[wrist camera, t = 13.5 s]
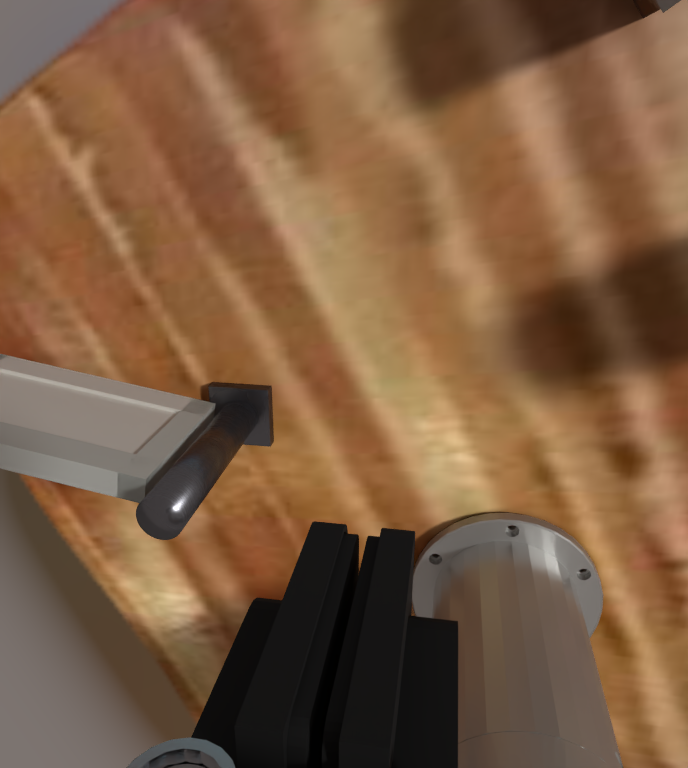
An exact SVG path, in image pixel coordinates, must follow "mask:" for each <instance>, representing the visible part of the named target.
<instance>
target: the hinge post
mask: <svg viewBox="0 0 688 768" xmlns="http://www.w3.org/2000/svg"><path fill="white" fill-rule="evenodd" d="M208 387H209V400H210V402H211V403H215V412H214V419H213V420H212V421H211V422H210V423H209V425H208V426H207V427H206V428H205V429H204V430H203V431H202V433H201V434H200V435H199V436H198V437H197V438H196V439H195V441H194V442H193V443H192V444H191V445H190V446H189V447H188V449H187V450H186V451H185V452H184V453H183V454H182V455H181V457H180V458H179V459H178V460H177V461H176V462H175V463H174V465H173V466H172V467H171V468H170V469H169V470H168V471H167V473H166V474H165V475H164V476H163V477H162V478H161V479H160V481H159V482H158V483H157V484H156V485H155V486H154V487H153V489H152V490H151V491H150V492H149V493H148V494H147V495H146V497H145V498H144V499H143V500H142V501H141V502H140V503H139V505H138V507H137V510H136V518H137V521H138V523H139V525H140V527H141V528H142V529H143V530H144V531H145V532H146V533H147V534H148V535H150V536H152V537H154V538H156V539H161V540H169V539H172V538H175V537H176V536H178V535H179V534H180V532H181V531H182V529H183V528H184V527H185V525H186V524H187V522H188V521H189V520H190V518H191V517H192V515H193V514H194V512H195V511H196V510H197V508H198V507H199V505H200V504H201V503H202V501H203V500H204V498H205V497H206V496H207V494H208V493H209V491H210V490H211V488H212V487H213V486H214V484H215V483H216V481H217V480H218V479H219V477H220V476H221V474H222V473H223V471H224V470H225V469H226V467H227V466H228V464H229V463H230V462H231V460H232V459H233V457H234V456H235V455H236V453H237V452H238V450H239V449H240V447H241V446H242V445H243V444H245V445H258V446H271V445H272V443H273V442H274V436H273V412H272V387H271V386H265V385H250V384H234V383H219V382H212V383H211V384H210V385H209V386H208Z"/></svg>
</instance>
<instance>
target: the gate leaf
mask: <svg viewBox="0 0 688 768" xmlns="http://www.w3.org/2000/svg"><path fill="white" fill-rule="evenodd" d="M214 412H215V403H211V402H207V401H203V400H198V399H194V398H190V397H185V396H181V395H177V394H172V393H168V392H164V391H159V390H155V389H151V388H146V387H142V386H138V385H133V384H129V383H125V382H120V381H116V380H112V379H107V378H103V377H99V376H94V375H90V374H86V373H81V372H77V371H73V370H68V369H64V368H60V367H55V366H51V365H47V364H42V363H38V362H34V361H29V360H25V359H21V358H16V357H12V356H8V355H3V354H0V468H1V469H5V470H9V471H13V472H17V473H21V474H25V475H29V476H33V477H37V478H41V479H45V480H49V481H53V482H57V483H61V484H65V485H69V486H73V487H77V488H81V489H85V490H90V491H94V492H98V493H102V494H106V495H110V496H114V497H118V498H122V499H126V500H130V501H134V502H138V503H140V502H141V501H142V500H143V499H144V498H145V497H146V495H147V494H148V493H149V492H150V491H151V490H152V489H153V487H154V486H155V485H156V484H157V483H158V482H159V481H160V479H161V478H162V477H163V476H164V475H165V474H166V473H167V471H168V470H169V469H170V468H171V467H172V466H173V465H174V463H175V462H176V461H177V460H178V459H179V458H180V457H181V455H182V454H183V453H184V452H185V451H186V450H187V449H188V447H189V446H190V445H191V444H192V443H193V442H194V441H195V439H196V438H197V437H198V436H199V435H200V434H201V433H202V431H203V430H204V429H205V428H206V427H207V426H208V425H209V423H210V422H211V421H212V420H213V419H214Z"/></svg>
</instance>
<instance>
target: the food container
mask: <svg viewBox="0 0 688 768" xmlns="http://www.w3.org/2000/svg"><path fill="white" fill-rule="evenodd" d="M633 1H634V3H635V5H636V7H637V8H638V10H639V12H640V13H641V15H642V17H643V18H645V17H647V16H648V15H650V14H652V13H654V12H656V11H658V10H660V9H661V10H662V12H663V13H664V12H665V11H667V10H668V9H669V8H671V7H672V6H674V5H675V4H676V3H678V2H679V1H681V0H633Z"/></svg>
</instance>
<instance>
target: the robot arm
mask: <svg viewBox="0 0 688 768" xmlns="http://www.w3.org/2000/svg"><path fill="white" fill-rule="evenodd" d="M511 525H514V526H511ZM414 549H415V531H407V530H397V529H387V528H382V529H381V533H380V537H376V536H368V538H367V541H366V546H365V550H364V555H363V559H362V563H361V568H360V572H359V536H358V535H356V534H348V533H347V526H346V525H345V524H335V523H325V522H315V521H314V522H313V523H312V525H311V527H310V530H309V532H308V535H307V537H306V540H305V543H304V545H303V548H302V551H301V553H300V556H299V558H298V561H297V564H296V566H295V569H294V571H293V574H292V577H291V579H290V582H289V584H288V587H287V590H286V592H285V595H284V598H283V600H273V599H265V598H256V599H254V600H253V602H252V604H251V605H250V607H249V609H248V612H247V614H246V616H245V618H244V621H243V623H242V625H241V627H240V630H239V632H238V634H237V636H236V638H235V641H234V643H233V645H232V647H231V650H230V652H229V654H228V656H227V659H226V661H225V663H224V665H223V668H222V670H221V672H220V674H219V676H218V679H217V681H216V683H215V685H214V688H213V690H212V692H211V694H210V697H209V699H208V701H207V703H206V706H205V708H204V710H203V712H202V714H201V717H200V719H199V721H198V723H197V726H196V728H195V730H194V733H193V735H192V737H191V738H182V739H174V740H169V741H166V742H164V743H161V744H159V745H156V746H154V747H151V748H150V749H148V750H147V751H145V752H144V753H143V754H141V755H140V756H138V757H137V758H135V759H134V760H133V761H132V762H131V764H130V765H129V766H128V767H127V768H623V765H622V761H621V757H620V753H619V749H618V746H617V742H616V738H615V734H614V730H613V727H612V723H611V719H610V715H609V711H608V707H607V704H606V700H605V696H604V692H603V688H602V684H601V681H600V677H599V673H598V669H597V665H596V662H595V658H594V654H593V650H592V646H591V642H590V639H589V638H590V637H591V635H592V634H593V632H594V630H595V629H596V627H597V625H598V623H599V619H600V616H601V613H602V606H603V593H602V587H601V582H600V578H599V576H598V573H597V570H596V567H595V565H594V563H593V561H592V560H591V558H590V556H589V555H588V553H587V551H586V550H585V549H584V548H583V547H582V546H581V545H580V544H579V543H578V542H577V540H576V539H574V538H573V537H572V536H570V535H569V534H568V533H566V532H565V531H564V530H562V529H561V528H559V527H557V526H555V525H553V524H551V523H549V522H547V521H545V520H541V519H538V518H535V517H531V516H528V515H522V514H514V513H488V514H483V515H477V516H472V517H469V518H466V519H464V520H461V521H459V522H456V523H454V524H452V525H450V526H449V527H447V528H446V529H444V530H442V531H441V532H439V533H438V534H437V535H436V536H435V537H434V538H433V539H432V540H431V541H429V542H428V544H427V545H426V547H425V548H424V549H423V551H422V552H421V554H420V555H419V558H418V560H417V562H416V565H415V567H414ZM413 569H414V572H413ZM358 574H359V576H358ZM412 604H413V610H414V613H415V615H416V616H411V609H412Z"/></svg>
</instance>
